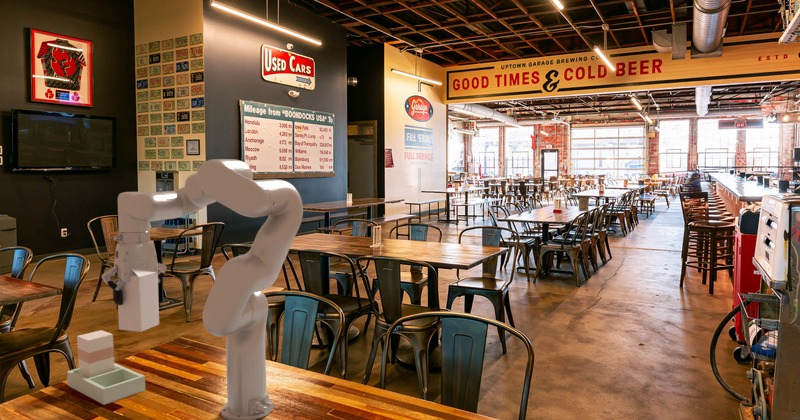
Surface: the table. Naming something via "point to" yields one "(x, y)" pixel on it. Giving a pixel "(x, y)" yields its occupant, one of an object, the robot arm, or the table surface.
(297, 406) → the table surface
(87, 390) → the crate
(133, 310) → the milk carton
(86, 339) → the oat carton
